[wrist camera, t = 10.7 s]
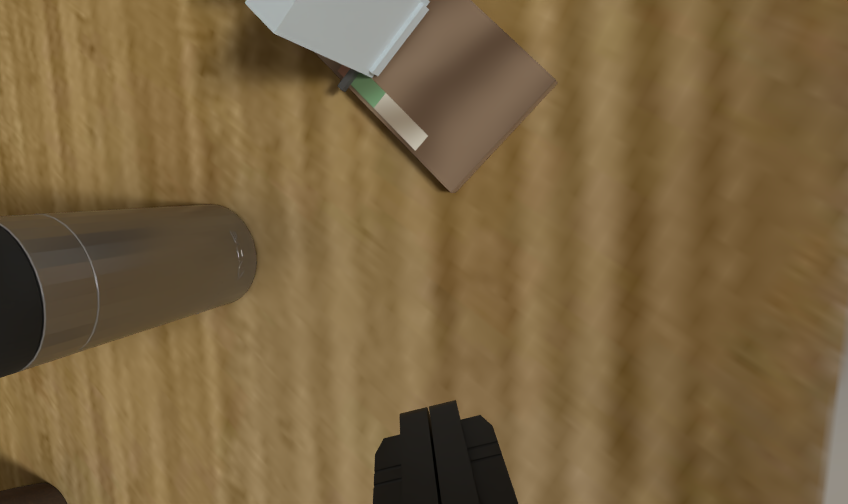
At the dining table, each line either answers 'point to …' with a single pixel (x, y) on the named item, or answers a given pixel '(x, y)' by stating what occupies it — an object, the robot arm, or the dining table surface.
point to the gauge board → (453, 89)
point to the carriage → (345, 29)
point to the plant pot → (32, 495)
